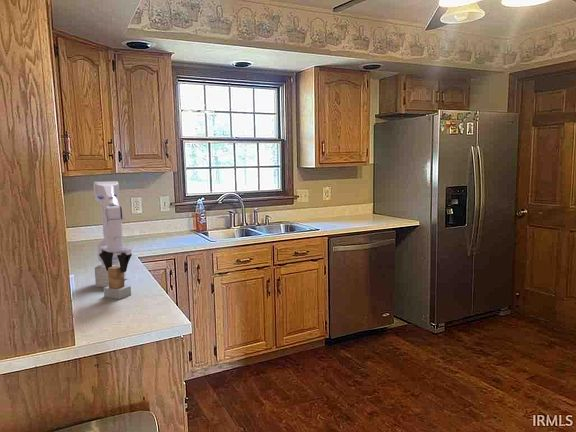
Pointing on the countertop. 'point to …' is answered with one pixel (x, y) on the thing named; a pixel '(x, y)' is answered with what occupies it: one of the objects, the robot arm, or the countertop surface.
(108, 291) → the light grey riser
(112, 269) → the oak column
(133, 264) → the countertop surface
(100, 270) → the medicine box
